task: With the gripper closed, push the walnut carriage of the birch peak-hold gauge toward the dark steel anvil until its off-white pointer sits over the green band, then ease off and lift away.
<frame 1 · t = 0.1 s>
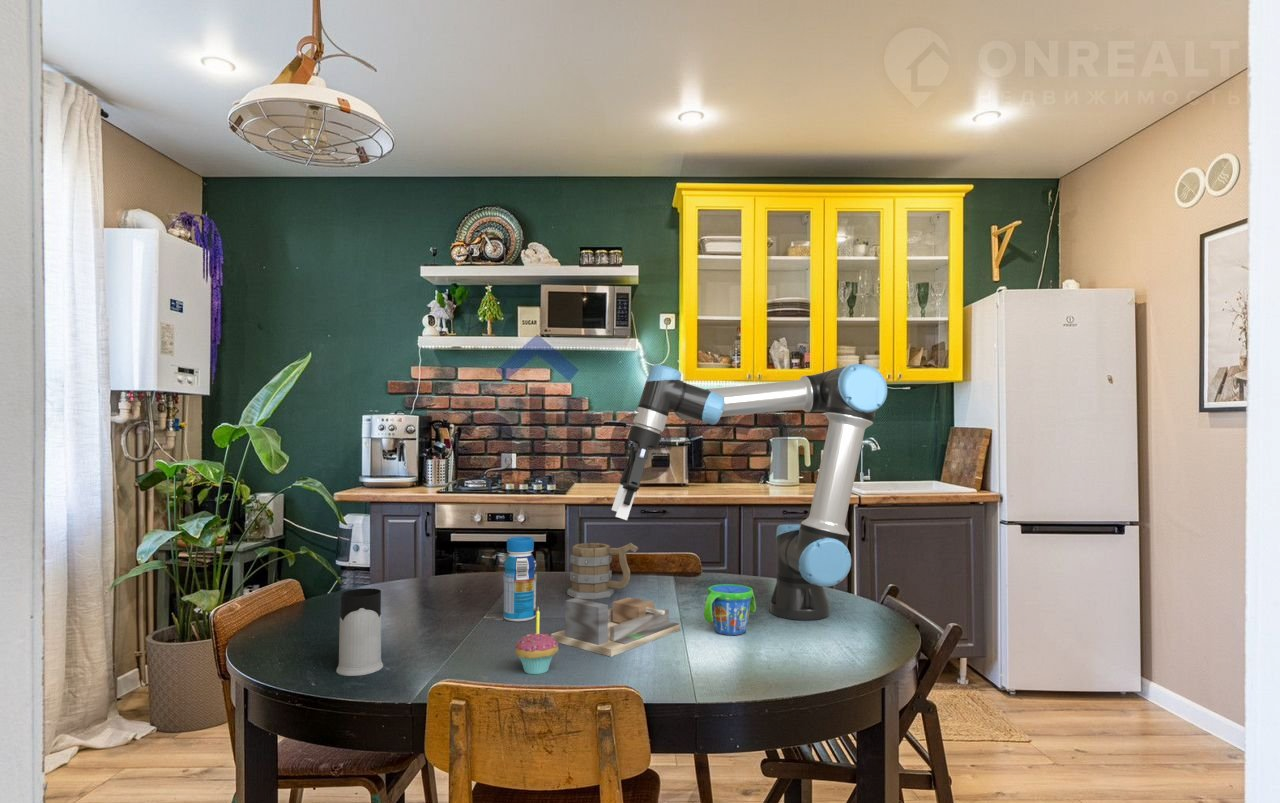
hand: (618, 515, 166), 28 cm above the table, tool tilted 20°, fingers open, 13 cm apart
snack cup: (730, 632, 167), on the table
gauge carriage: (641, 613, 167), point 4 cm above the table, slide at 0.0 cm
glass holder: (359, 664, 144), on the table
cupcake: (536, 671, 140), on the table
beverage bottle: (519, 618, 179), on the table
tankard: (603, 595, 204), on the table
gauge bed: (617, 635, 164), on the table
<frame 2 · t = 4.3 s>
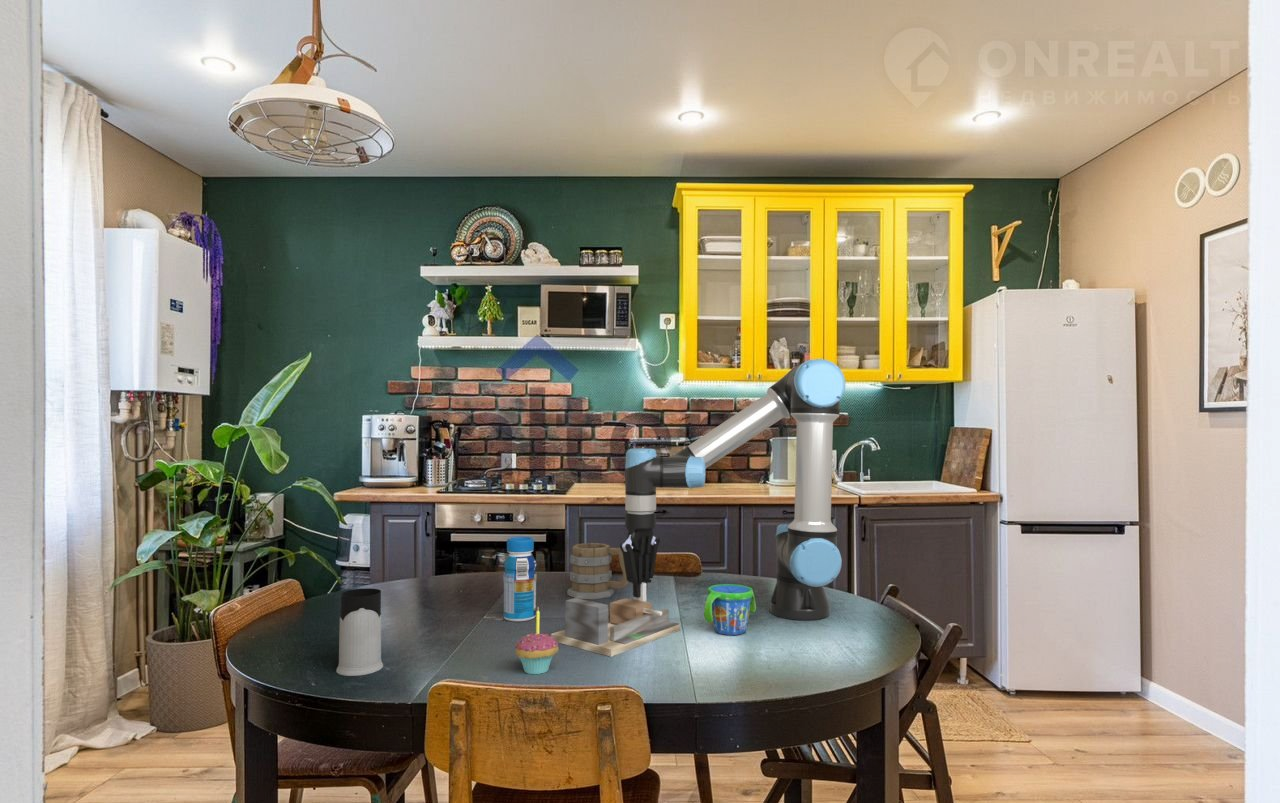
hand: (640, 609, 171), 4 cm above the table, tool pointing down, fingers closed
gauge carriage: (639, 614, 166), point 4 cm above the table, slide at 1.0 cm, touching gripper
everything else where it was.
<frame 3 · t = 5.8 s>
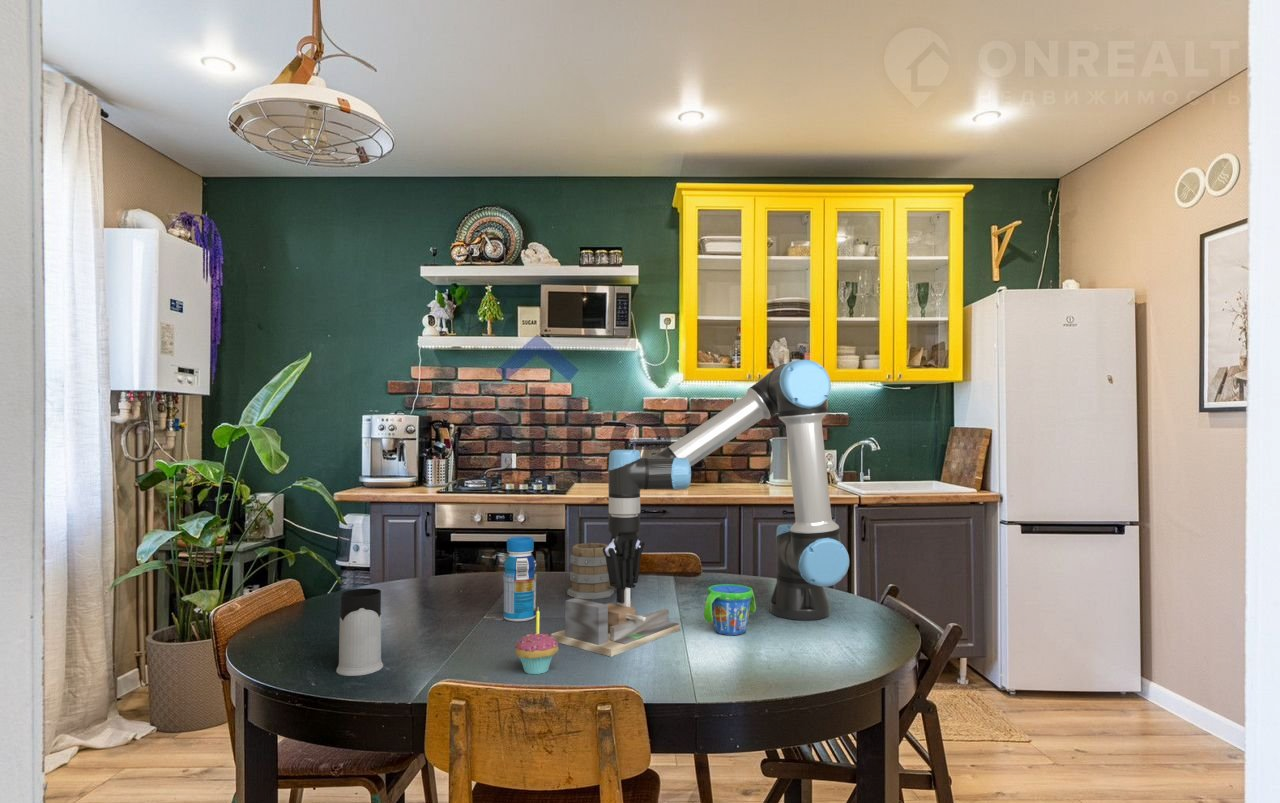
hand: (623, 615, 166), 4 cm above the table, tool pointing down, fingers closed
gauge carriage: (622, 619, 162), point 4 cm above the table, slide at 7.2 cm, touching gripper
everything else where it was.
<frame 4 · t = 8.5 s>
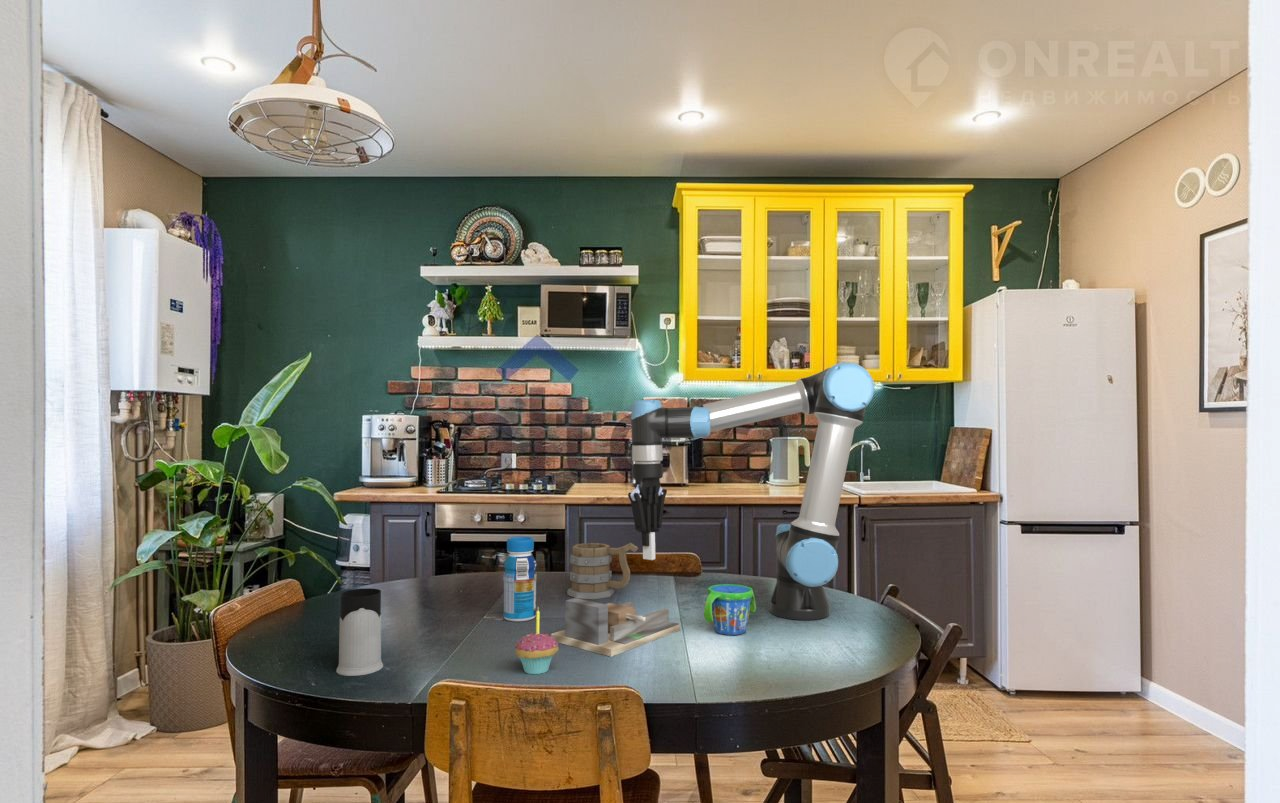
hand: (649, 558, 173), 16 cm above the table, tool pointing down, fingers closed
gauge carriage: (622, 619, 162), point 4 cm above the table, slide at 7.2 cm
everything else where it was.
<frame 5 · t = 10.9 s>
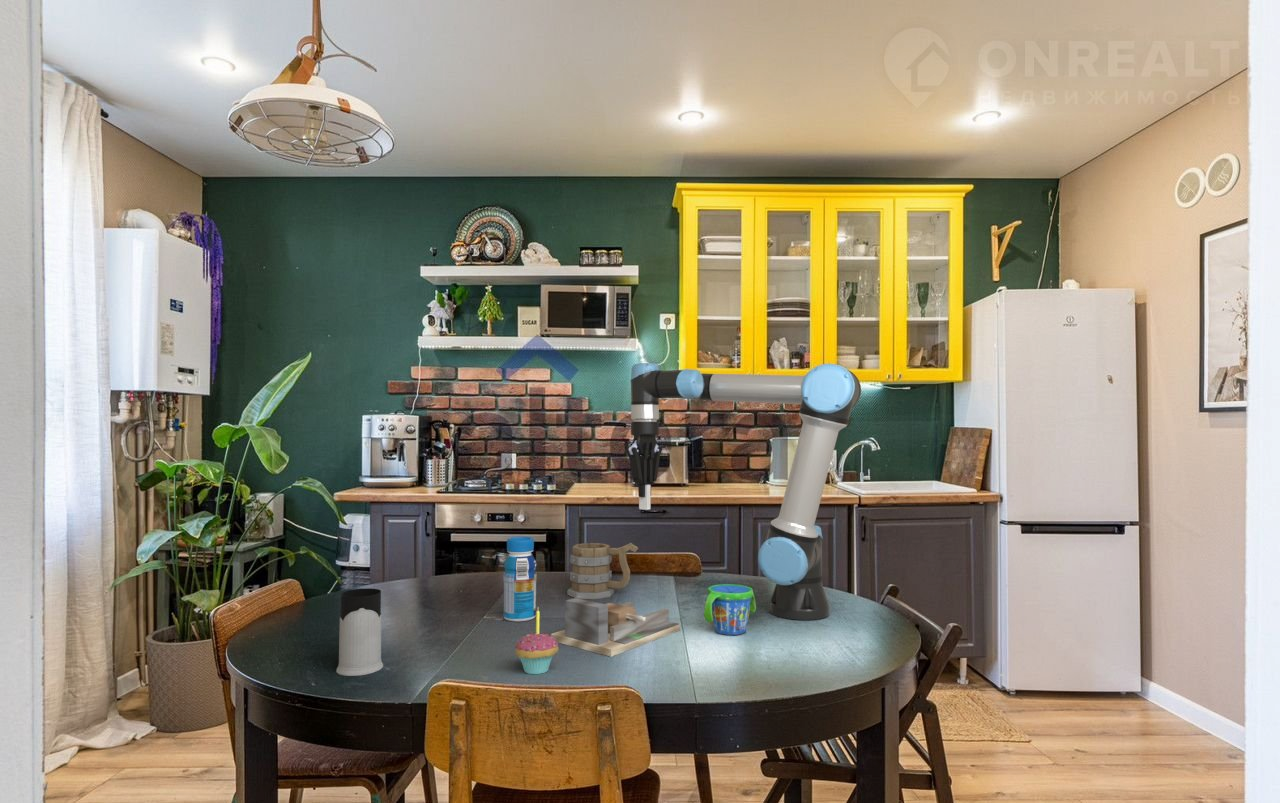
hand: (644, 509, 189), 26 cm above the table, tool pointing down, fingers closed
nothing on the table moved.
at the end: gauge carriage slide at 7.2 cm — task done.
